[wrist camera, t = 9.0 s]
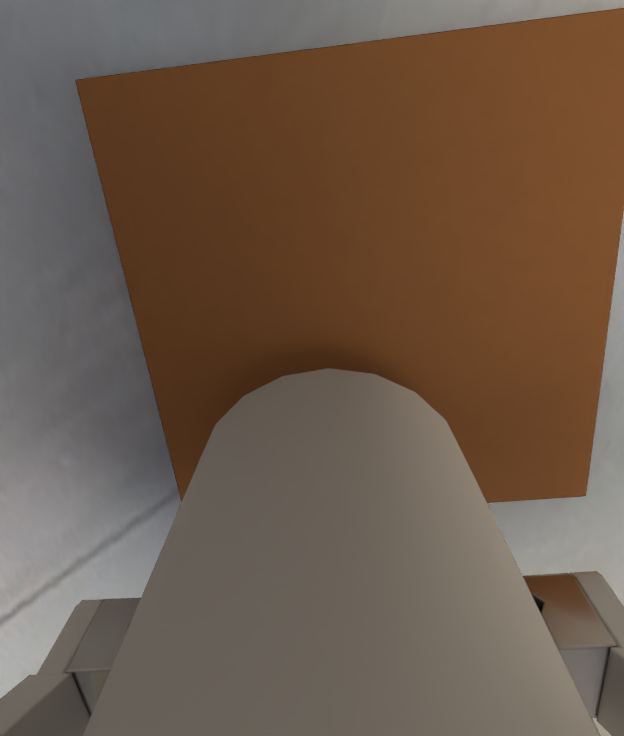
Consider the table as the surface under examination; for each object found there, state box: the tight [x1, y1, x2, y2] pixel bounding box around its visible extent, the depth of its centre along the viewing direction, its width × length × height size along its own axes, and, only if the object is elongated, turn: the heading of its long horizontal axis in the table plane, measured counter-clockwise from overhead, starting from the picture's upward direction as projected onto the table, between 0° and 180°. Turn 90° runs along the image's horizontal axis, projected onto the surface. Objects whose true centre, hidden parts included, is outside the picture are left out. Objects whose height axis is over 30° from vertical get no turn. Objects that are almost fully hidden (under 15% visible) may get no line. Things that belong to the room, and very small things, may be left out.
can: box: [83, 368, 600, 736], centre depth 9 cm, size 8×8×12 cm
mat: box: [76, 8, 624, 503], centre depth 15 cm, size 14×14×1 cm
